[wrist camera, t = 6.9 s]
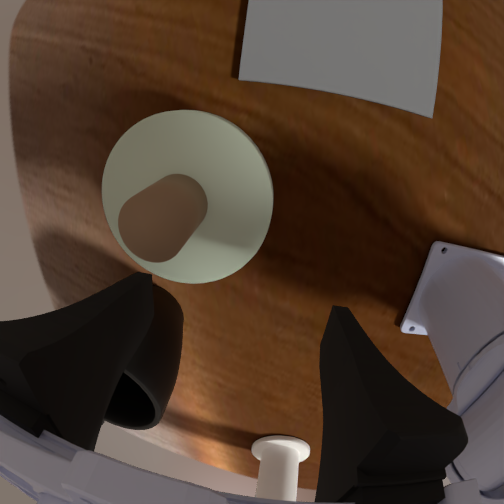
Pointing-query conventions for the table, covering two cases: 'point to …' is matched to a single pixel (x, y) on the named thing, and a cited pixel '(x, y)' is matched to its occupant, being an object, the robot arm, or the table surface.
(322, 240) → the table surface
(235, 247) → the lid
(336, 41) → the mat
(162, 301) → the mug
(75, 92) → the table surface
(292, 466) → the candle
